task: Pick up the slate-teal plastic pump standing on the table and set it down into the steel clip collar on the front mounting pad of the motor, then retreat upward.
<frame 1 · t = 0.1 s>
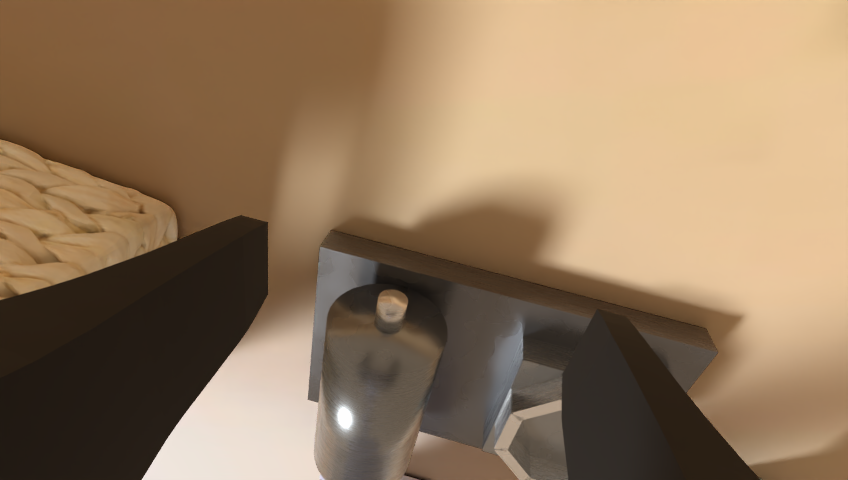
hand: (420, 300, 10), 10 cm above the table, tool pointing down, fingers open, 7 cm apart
motor: (484, 357, 24), on the table
storage basket: (10, 230, 26), on the table
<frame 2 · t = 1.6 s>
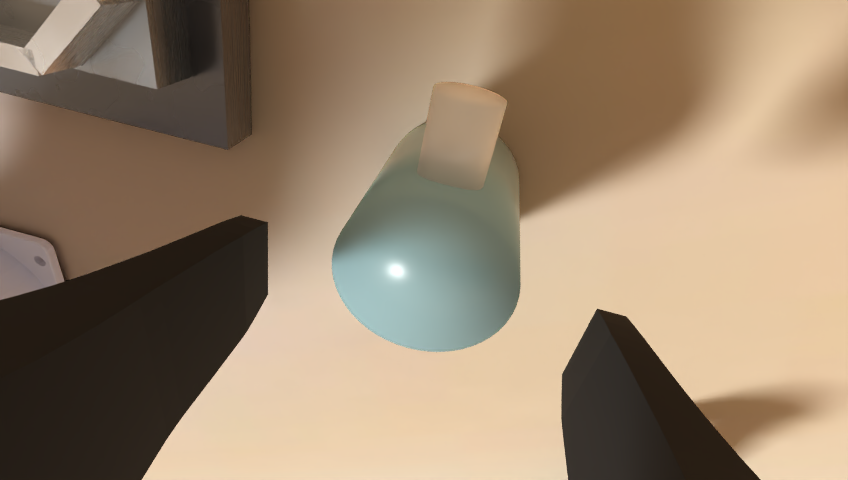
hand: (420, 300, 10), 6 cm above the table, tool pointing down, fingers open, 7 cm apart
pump: (451, 184, 15), on the table
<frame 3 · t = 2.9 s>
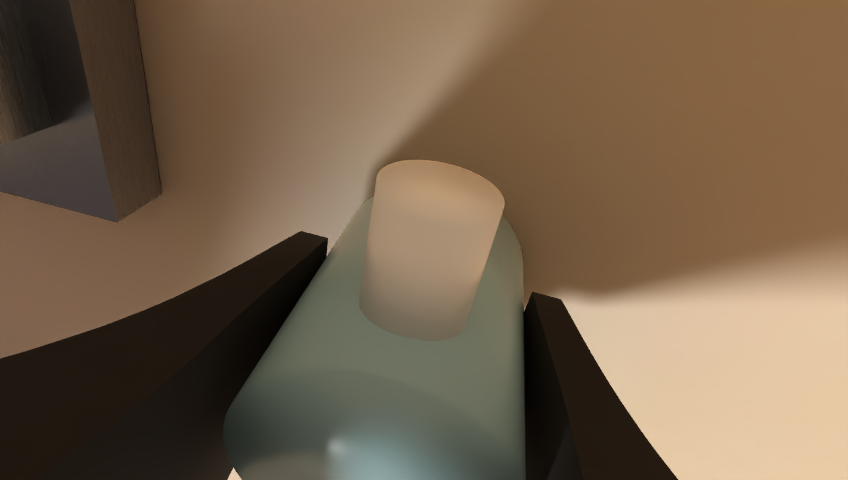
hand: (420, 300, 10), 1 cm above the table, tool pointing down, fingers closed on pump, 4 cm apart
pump: (431, 263, 11), on the table, touching gripper
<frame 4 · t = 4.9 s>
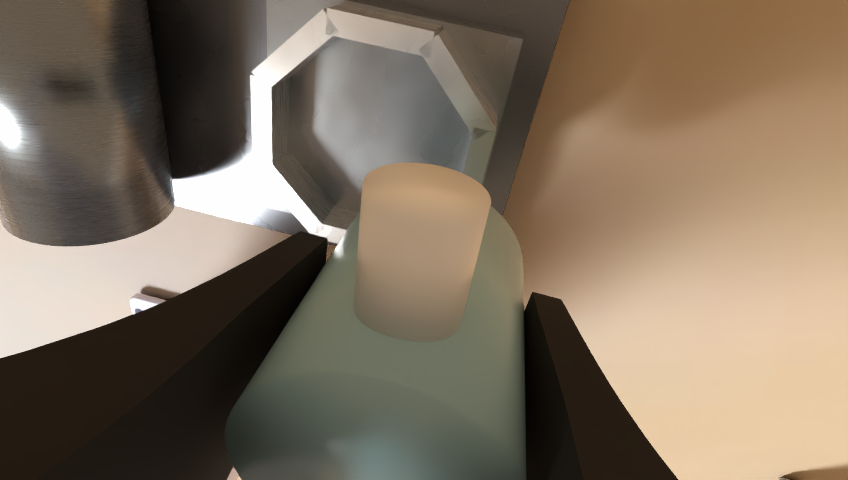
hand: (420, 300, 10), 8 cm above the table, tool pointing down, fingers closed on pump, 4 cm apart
motor: (280, 81, 17), on the table
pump: (431, 265, 11), point 7 cm above the table, touching gripper
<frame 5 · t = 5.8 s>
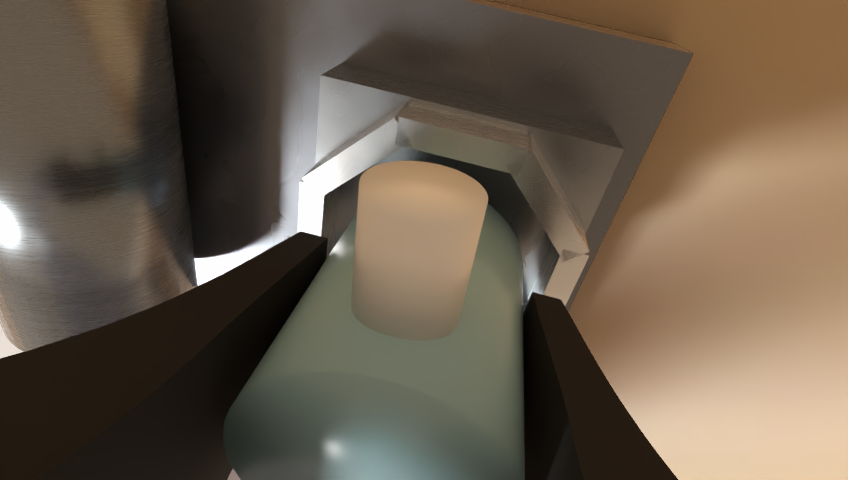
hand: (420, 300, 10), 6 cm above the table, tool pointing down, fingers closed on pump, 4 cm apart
motor: (318, 157, 15), on the table
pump: (430, 265, 11), point 4 cm above the table, touching gripper
when the fingers open (5 cm above the table, at t = 6.7 s): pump stays where it is, resting on motor.
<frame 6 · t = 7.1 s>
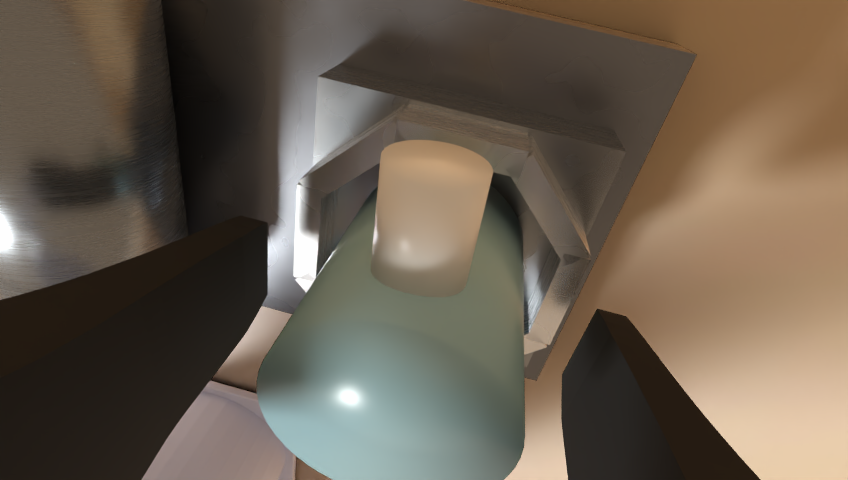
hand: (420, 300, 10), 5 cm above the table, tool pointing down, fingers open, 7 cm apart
motor: (316, 159, 15), on the table
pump: (437, 244, 12), point 3 cm above the table, touching motor
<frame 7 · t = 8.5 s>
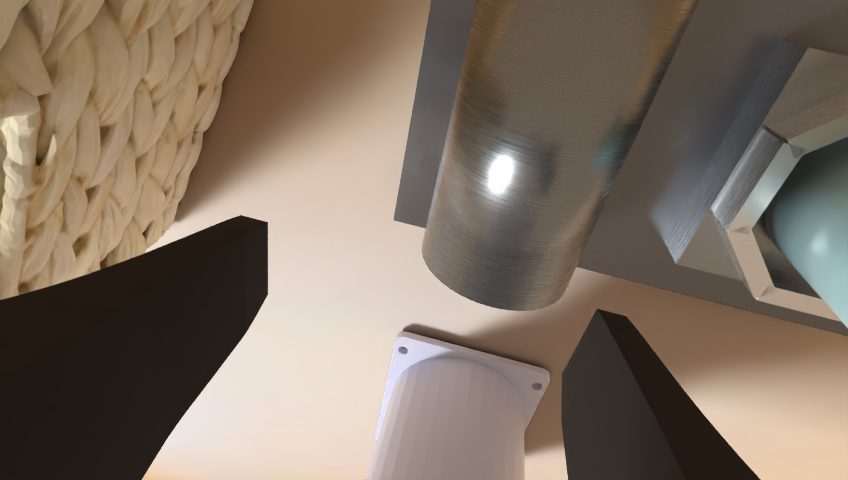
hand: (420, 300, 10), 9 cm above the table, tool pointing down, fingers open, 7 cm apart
motor: (671, 131, 16), on the table
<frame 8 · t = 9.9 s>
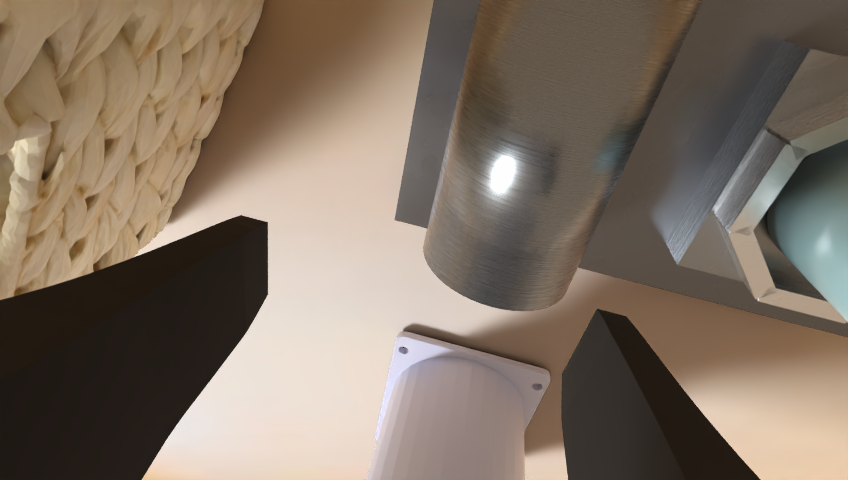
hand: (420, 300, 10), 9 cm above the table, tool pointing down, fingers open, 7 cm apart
motor: (672, 132, 16), on the table
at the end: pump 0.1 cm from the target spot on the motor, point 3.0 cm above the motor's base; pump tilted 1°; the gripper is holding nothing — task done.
